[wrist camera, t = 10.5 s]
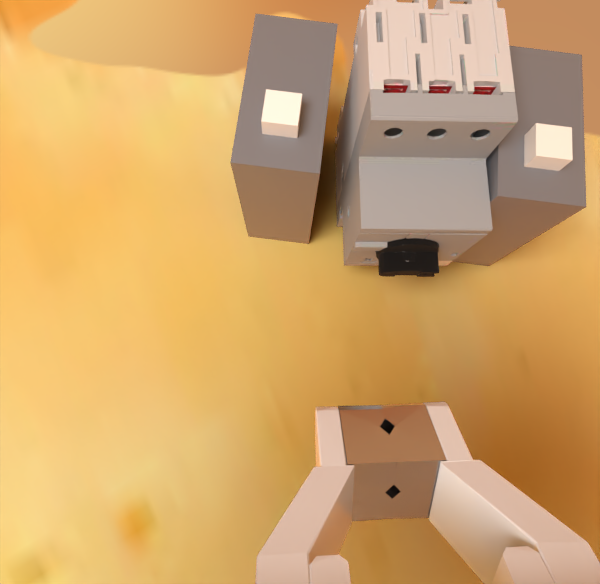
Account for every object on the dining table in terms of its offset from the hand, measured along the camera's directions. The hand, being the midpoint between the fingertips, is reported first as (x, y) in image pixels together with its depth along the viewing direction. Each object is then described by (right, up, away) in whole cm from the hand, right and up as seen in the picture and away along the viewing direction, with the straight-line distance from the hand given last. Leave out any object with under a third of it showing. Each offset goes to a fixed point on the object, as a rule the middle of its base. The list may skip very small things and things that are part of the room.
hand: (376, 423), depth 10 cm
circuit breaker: (+5, +9, +27) cm, 29 cm away
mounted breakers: (+5, +11, +27) cm, 30 cm away
